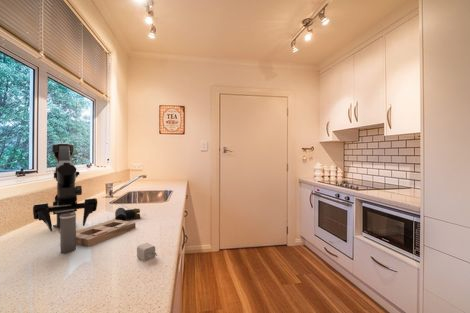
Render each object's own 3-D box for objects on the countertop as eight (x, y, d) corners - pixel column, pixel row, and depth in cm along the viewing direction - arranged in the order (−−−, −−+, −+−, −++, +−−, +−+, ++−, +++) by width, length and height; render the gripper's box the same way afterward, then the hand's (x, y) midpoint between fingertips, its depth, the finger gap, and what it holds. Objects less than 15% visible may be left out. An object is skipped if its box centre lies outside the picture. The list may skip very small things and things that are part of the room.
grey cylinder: (57, 252, 78) (56, 214, 77) (71, 247, 82) (70, 211, 82) (65, 254, 76) (65, 216, 76) (79, 249, 80) (79, 212, 80)
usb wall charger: (148, 253, 76) (148, 242, 76) (159, 260, 72) (159, 247, 72) (137, 258, 73) (136, 246, 73) (148, 264, 69) (148, 251, 69)
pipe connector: (138, 205, 126) (140, 211, 113) (138, 214, 126) (141, 221, 113) (115, 208, 121) (115, 214, 107) (115, 217, 121) (115, 225, 108)
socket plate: (63, 240, 88) (63, 233, 88) (113, 224, 108) (113, 218, 108) (88, 246, 82) (88, 238, 82) (135, 227, 103) (135, 221, 103)
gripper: (33, 181, 77) (30, 220, 68) (96, 177, 89) (101, 210, 80) (34, 200, 83) (32, 238, 75) (94, 194, 95) (98, 227, 86)
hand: (68, 227), depth 79 cm, fingers open, 9 cm apart
